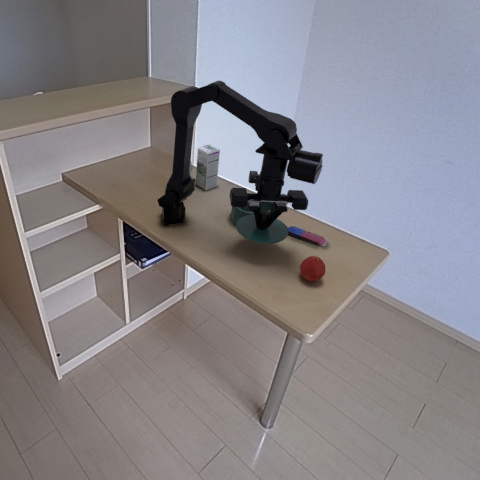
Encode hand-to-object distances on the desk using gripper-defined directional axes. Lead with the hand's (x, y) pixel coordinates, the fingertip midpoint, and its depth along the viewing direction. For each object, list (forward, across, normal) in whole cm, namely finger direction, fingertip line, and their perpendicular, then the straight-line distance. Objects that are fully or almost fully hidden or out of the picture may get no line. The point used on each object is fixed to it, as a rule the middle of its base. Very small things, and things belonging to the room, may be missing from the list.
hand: (262, 226), depth 98 cm
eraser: (+8, -15, -7) cm, 18 cm away
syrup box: (+8, +14, -39) cm, 42 cm away
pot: (+8, 0, -16) cm, 17 cm away
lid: (+1, 0, 0) cm, 1 cm away
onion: (+8, -11, +11) cm, 18 cm away
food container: (+8, +22, -36) cm, 43 cm away
